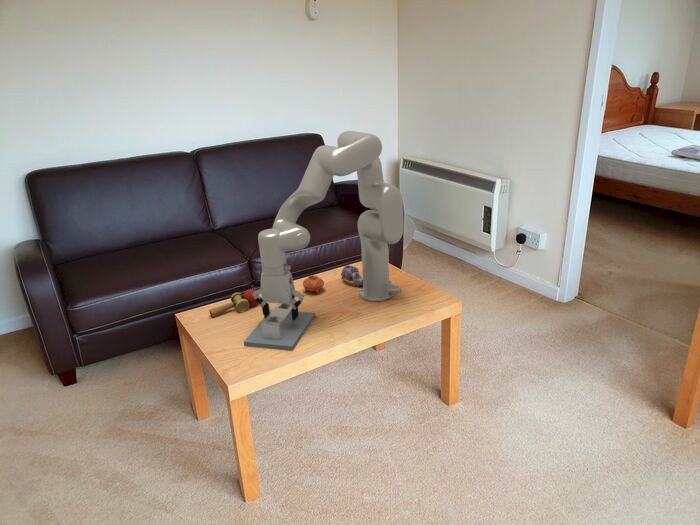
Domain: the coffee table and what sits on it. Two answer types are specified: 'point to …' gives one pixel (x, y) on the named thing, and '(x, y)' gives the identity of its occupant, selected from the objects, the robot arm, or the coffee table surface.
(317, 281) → the pot
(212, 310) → the kendama
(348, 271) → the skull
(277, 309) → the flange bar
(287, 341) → the pin board
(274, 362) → the coffee table surface
